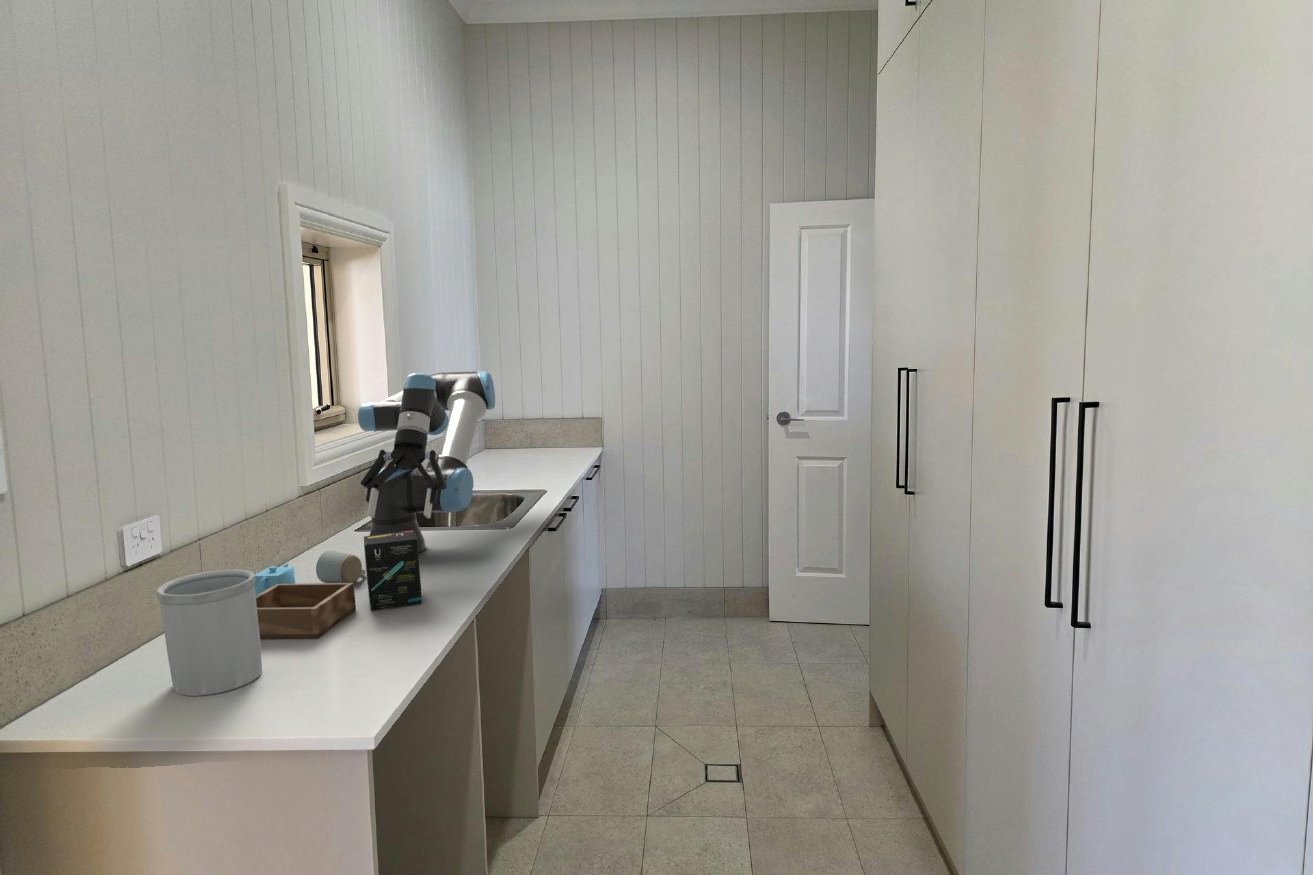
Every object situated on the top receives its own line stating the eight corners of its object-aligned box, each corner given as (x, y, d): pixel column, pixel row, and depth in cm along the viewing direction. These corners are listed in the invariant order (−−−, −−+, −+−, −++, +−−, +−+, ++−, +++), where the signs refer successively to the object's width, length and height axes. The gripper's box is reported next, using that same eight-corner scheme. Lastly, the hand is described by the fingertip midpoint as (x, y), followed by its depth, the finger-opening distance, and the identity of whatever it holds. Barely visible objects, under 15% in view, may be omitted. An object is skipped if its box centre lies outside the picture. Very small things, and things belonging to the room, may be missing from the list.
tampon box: (419, 592, 193) (414, 529, 191) (423, 604, 184) (418, 537, 182) (368, 599, 189) (363, 534, 187) (369, 611, 180) (364, 544, 179)
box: (279, 610, 183) (276, 583, 182) (356, 610, 182) (353, 582, 181) (234, 639, 166) (231, 609, 165) (318, 638, 165) (315, 608, 164)
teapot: (278, 590, 199) (275, 558, 198) (303, 589, 199) (300, 558, 198) (250, 606, 187) (247, 573, 186) (277, 606, 187) (274, 572, 186)
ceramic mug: (343, 589, 198) (341, 556, 197) (316, 586, 201) (313, 554, 200) (374, 577, 207) (372, 546, 207) (347, 574, 210) (345, 544, 210)
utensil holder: (162, 705, 137) (150, 599, 134) (173, 673, 150) (162, 576, 148) (263, 687, 142) (253, 585, 140) (265, 657, 156) (256, 564, 154)
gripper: (356, 427, 206) (340, 510, 198) (457, 427, 205) (445, 511, 196) (368, 439, 213) (353, 520, 205) (466, 440, 211) (455, 521, 203)
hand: (398, 516), depth 200 cm, fingers open, 13 cm apart
